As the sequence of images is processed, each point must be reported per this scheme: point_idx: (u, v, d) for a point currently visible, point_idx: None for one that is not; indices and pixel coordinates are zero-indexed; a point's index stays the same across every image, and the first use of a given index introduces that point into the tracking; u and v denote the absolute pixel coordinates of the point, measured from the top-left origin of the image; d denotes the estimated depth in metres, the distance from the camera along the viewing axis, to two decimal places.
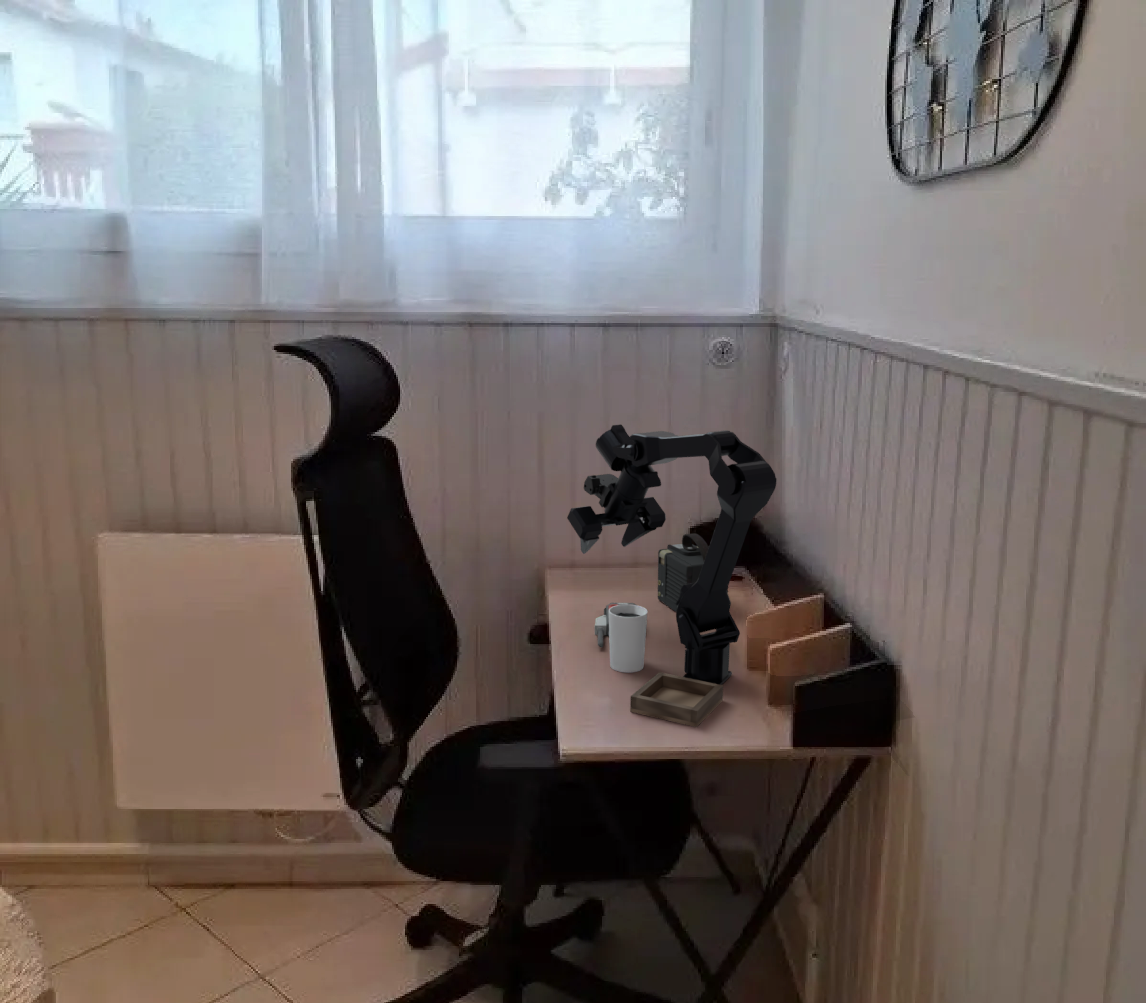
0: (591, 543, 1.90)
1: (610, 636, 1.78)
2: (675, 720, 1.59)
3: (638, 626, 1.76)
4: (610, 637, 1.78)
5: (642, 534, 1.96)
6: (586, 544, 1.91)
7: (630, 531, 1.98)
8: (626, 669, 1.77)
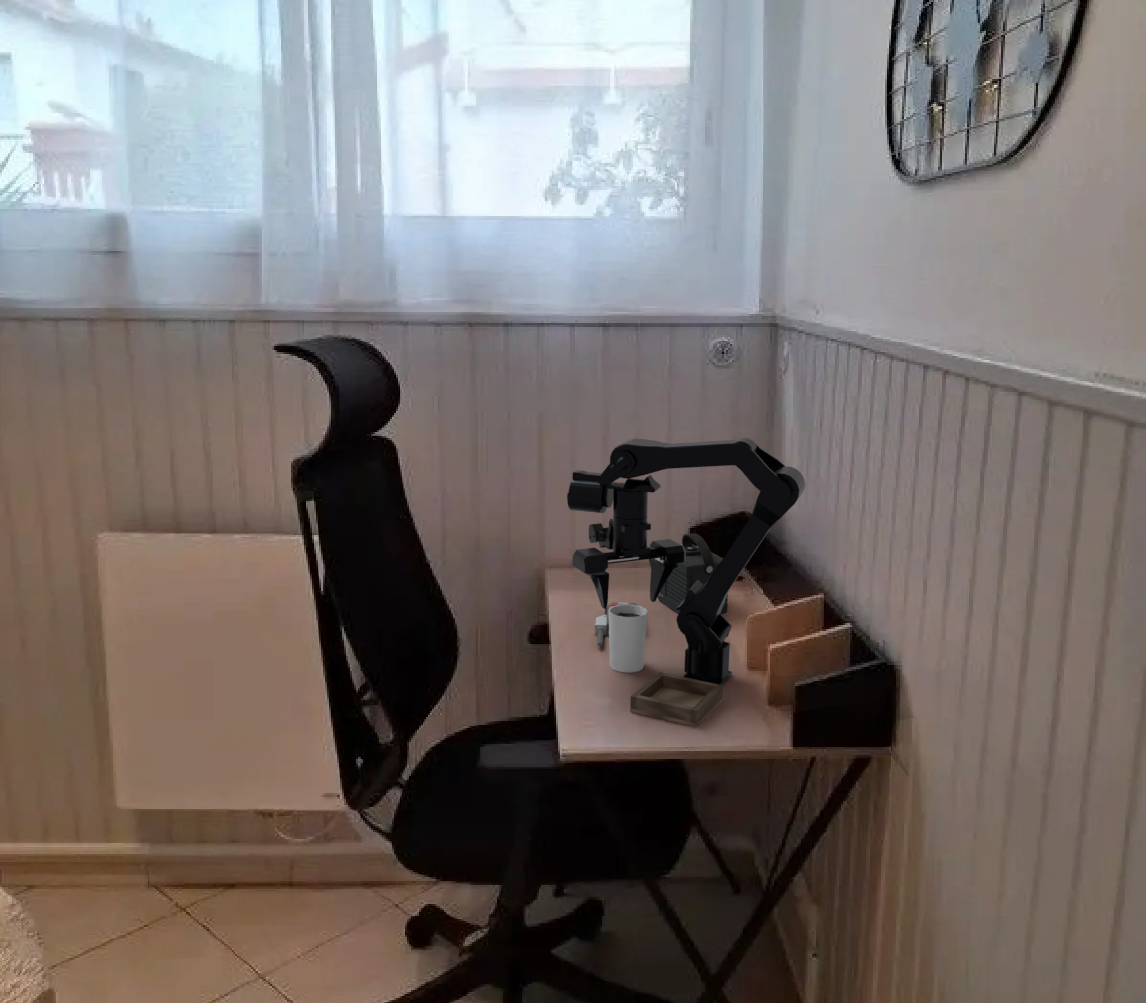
0: (603, 584, 1.72)
1: (610, 636, 1.78)
2: (675, 720, 1.59)
3: (638, 626, 1.76)
4: (610, 637, 1.78)
5: (664, 575, 1.77)
6: (600, 590, 1.73)
7: (654, 580, 1.79)
8: (626, 669, 1.77)
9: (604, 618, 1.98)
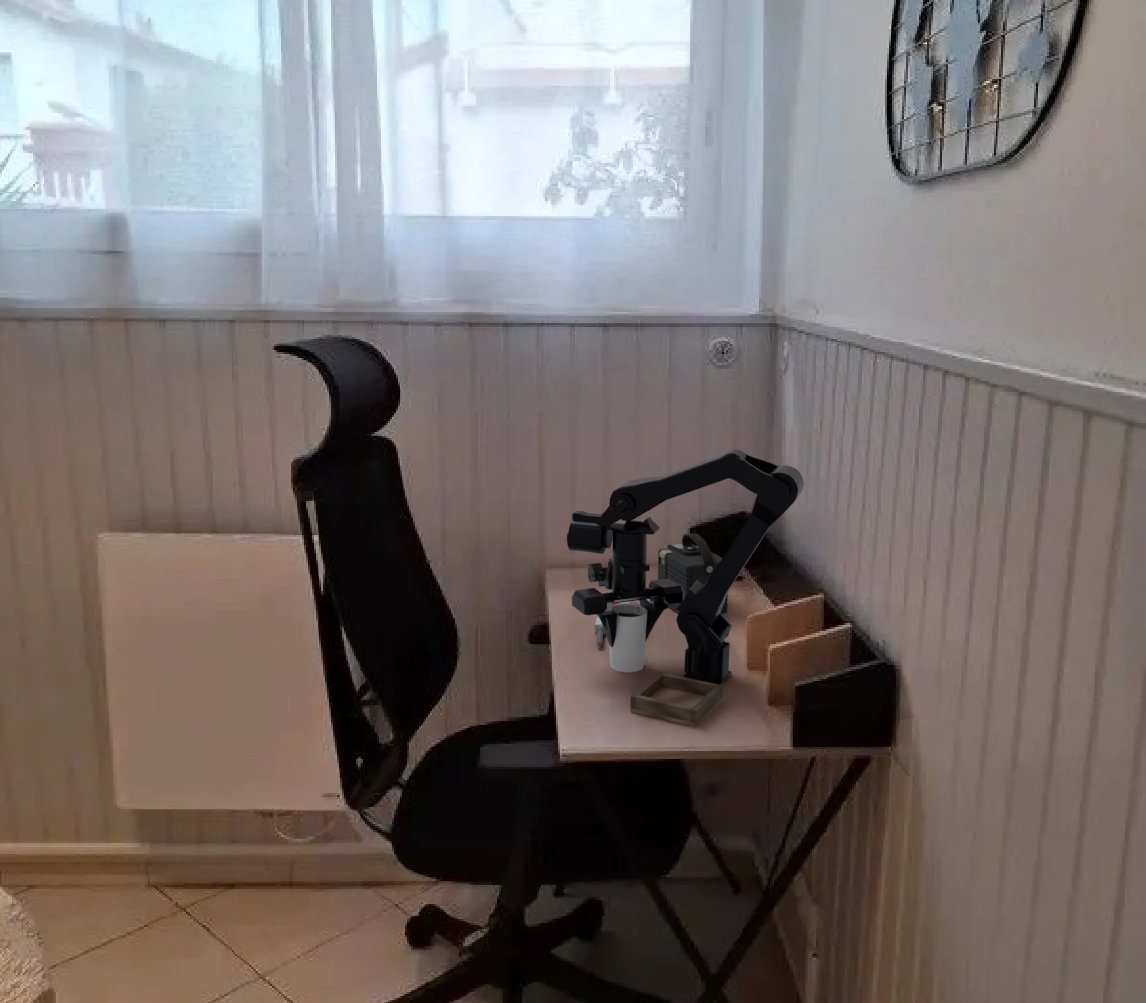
0: (611, 624, 1.75)
1: None
2: (675, 720, 1.59)
3: (638, 626, 1.76)
4: None
5: (655, 616, 1.78)
6: (608, 629, 1.76)
7: None
8: (626, 669, 1.77)
9: None
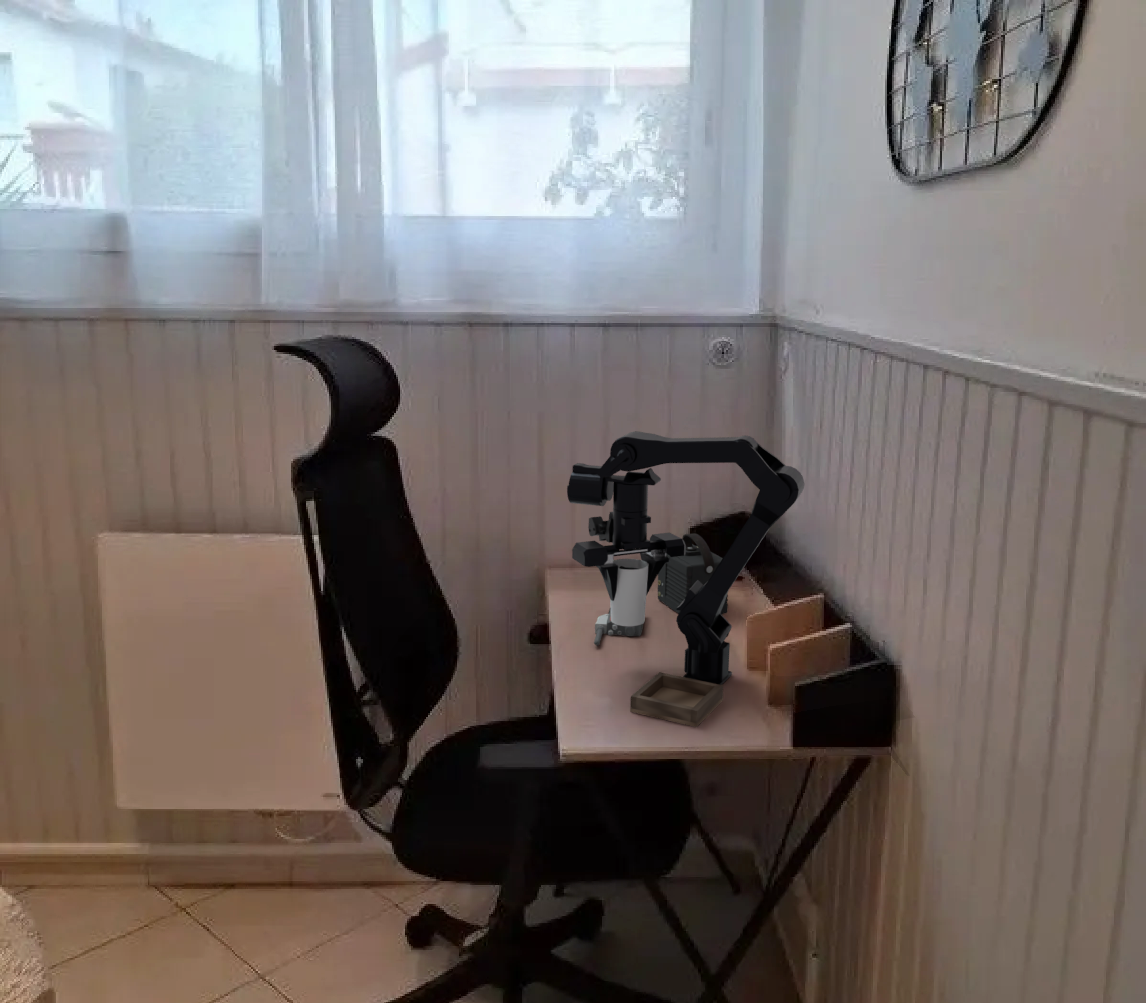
0: (612, 576, 1.73)
1: None
2: (675, 720, 1.59)
3: (639, 579, 1.74)
4: None
5: (656, 569, 1.76)
6: (609, 582, 1.74)
7: None
8: (627, 623, 1.76)
9: (606, 617, 1.99)
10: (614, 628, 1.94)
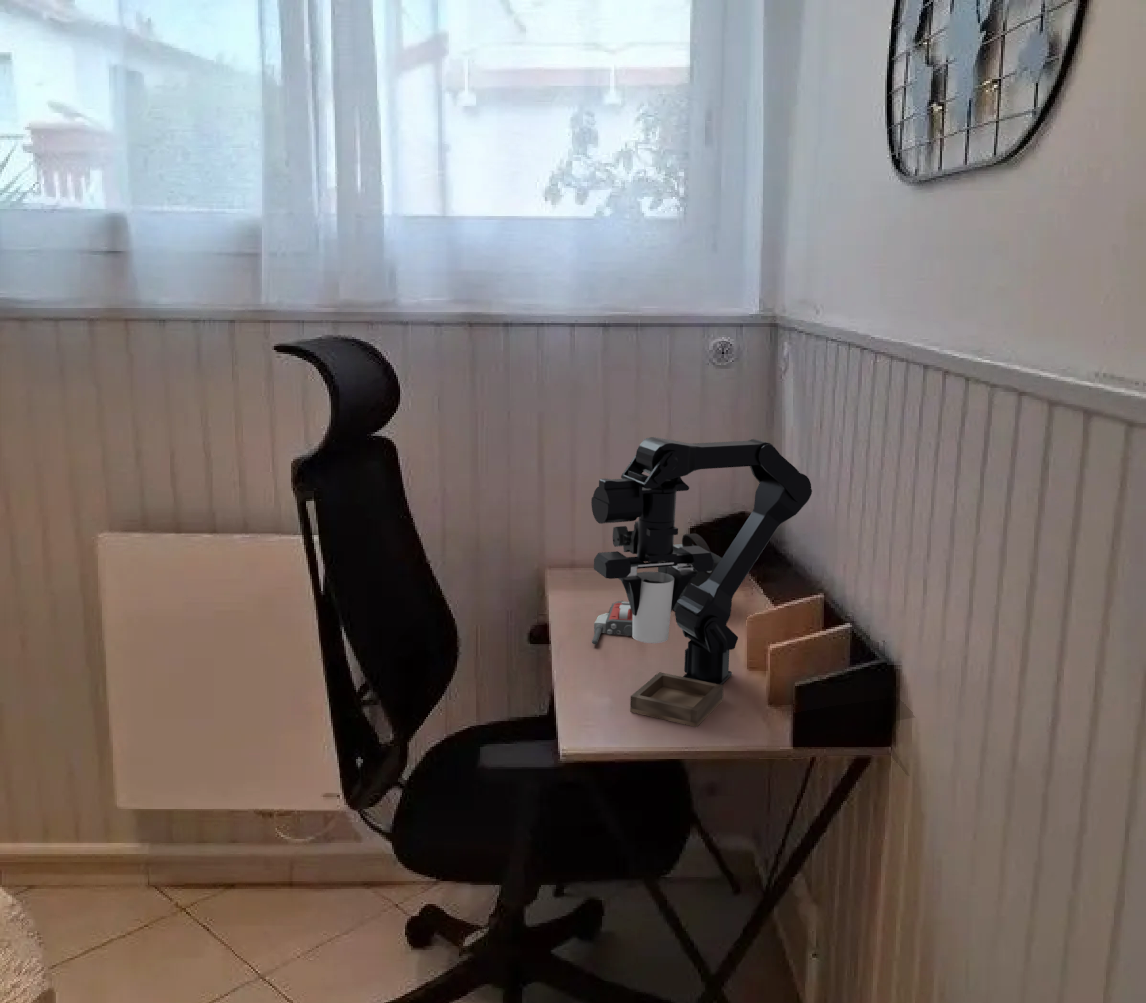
0: (635, 590, 1.63)
1: None
2: (675, 720, 1.59)
3: (664, 594, 1.64)
4: None
5: (682, 584, 1.66)
6: (632, 595, 1.65)
7: None
8: (649, 639, 1.66)
9: (605, 616, 1.99)
10: (613, 627, 1.95)
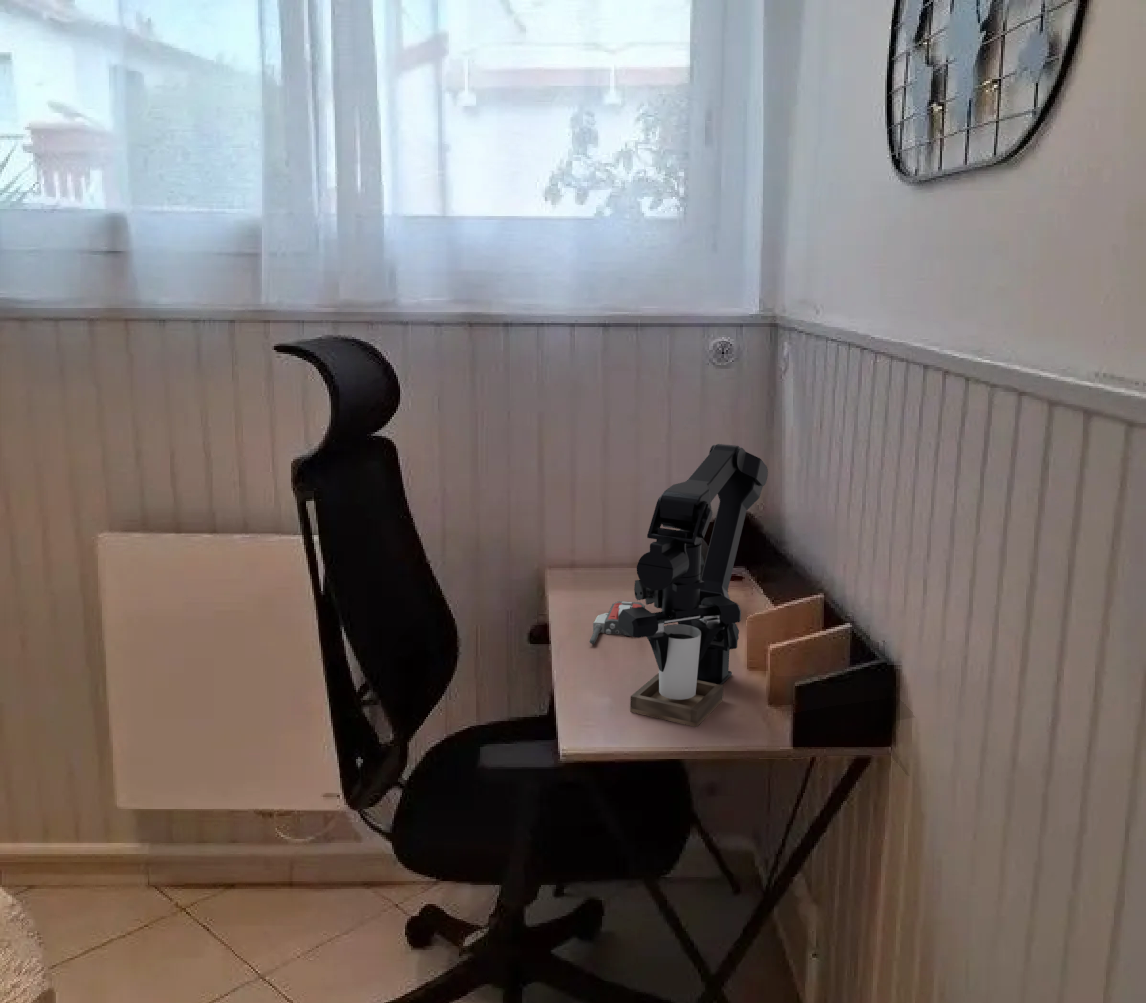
0: (662, 646, 1.58)
1: None
2: (675, 720, 1.59)
3: (692, 649, 1.59)
4: None
5: (709, 638, 1.61)
6: (659, 652, 1.59)
7: None
8: (677, 696, 1.61)
9: (605, 616, 1.99)
10: (612, 627, 1.95)
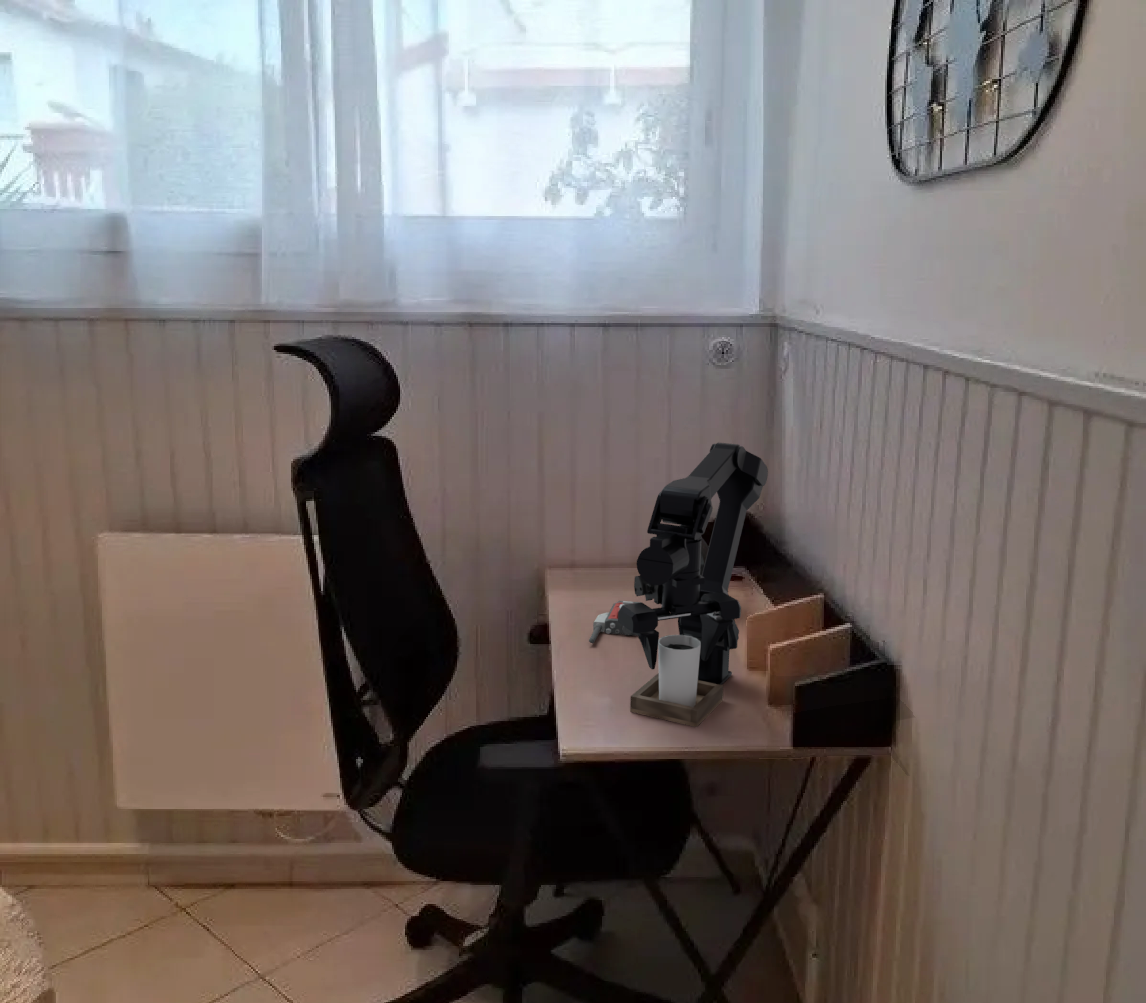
0: (652, 644, 1.57)
1: (660, 670, 1.62)
2: (675, 720, 1.59)
3: (692, 659, 1.60)
4: (660, 671, 1.62)
5: (718, 632, 1.62)
6: (649, 649, 1.58)
7: (705, 637, 1.64)
8: None
9: (605, 616, 1.99)
10: (612, 627, 1.95)
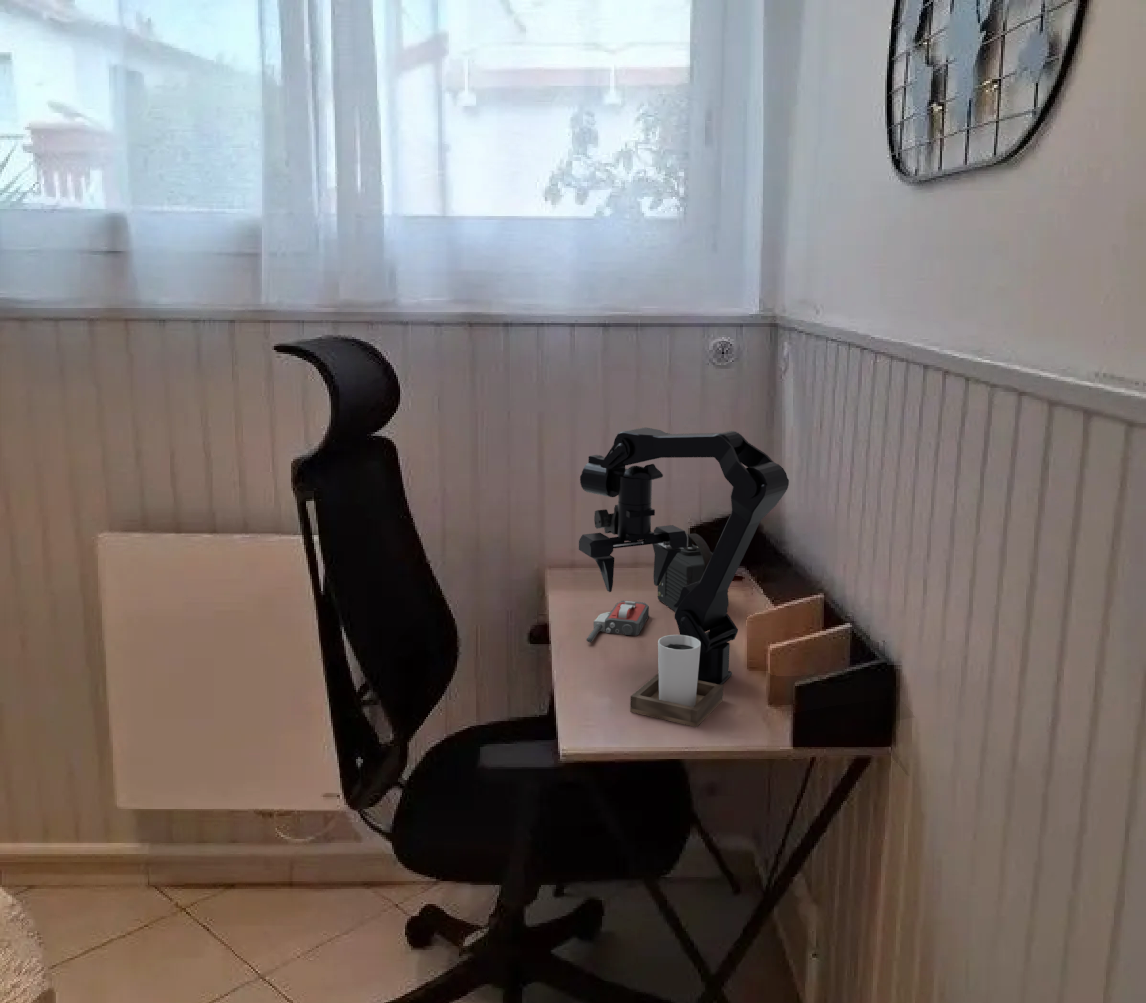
0: (609, 568, 1.78)
1: (660, 670, 1.62)
2: (675, 720, 1.59)
3: (692, 659, 1.60)
4: (660, 671, 1.62)
5: (668, 559, 1.82)
6: (606, 573, 1.79)
7: (657, 564, 1.84)
8: None
9: (607, 615, 2.00)
10: (611, 626, 1.95)
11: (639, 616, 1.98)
